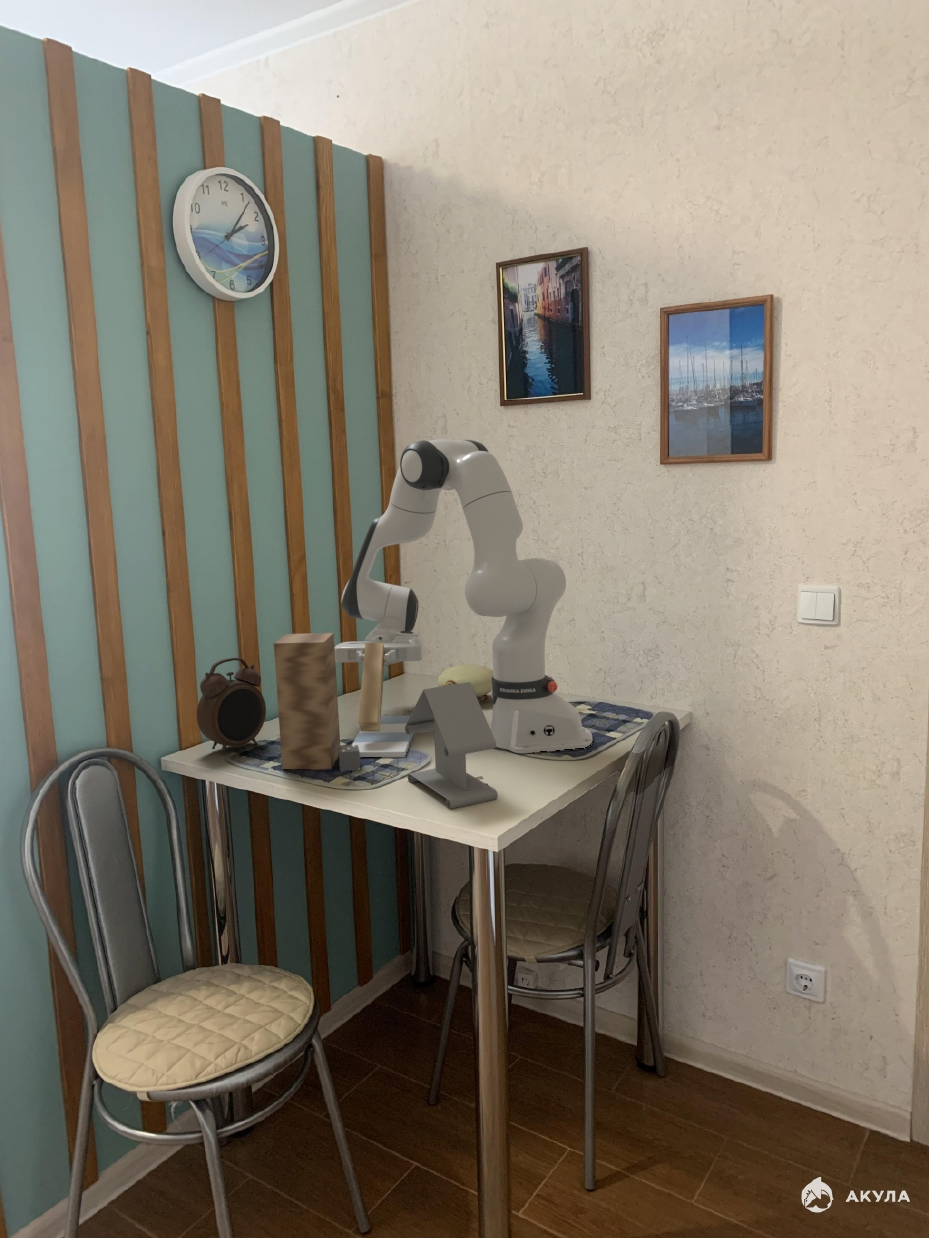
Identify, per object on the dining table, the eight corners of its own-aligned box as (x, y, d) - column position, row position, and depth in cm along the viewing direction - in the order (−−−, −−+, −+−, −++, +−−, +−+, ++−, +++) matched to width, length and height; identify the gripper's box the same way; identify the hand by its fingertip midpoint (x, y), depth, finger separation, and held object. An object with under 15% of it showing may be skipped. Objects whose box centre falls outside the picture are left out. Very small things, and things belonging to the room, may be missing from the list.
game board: (418, 720, 222) (418, 715, 222) (405, 757, 195) (404, 751, 195) (368, 720, 223) (368, 716, 223) (347, 758, 196) (347, 752, 195)
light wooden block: (385, 652, 213) (383, 642, 209) (379, 731, 201) (376, 722, 198) (367, 652, 213) (365, 643, 210) (361, 731, 201) (358, 722, 198)
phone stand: (497, 800, 169) (494, 691, 165) (450, 810, 164) (446, 699, 161) (451, 772, 185) (447, 672, 181) (407, 781, 180) (402, 679, 177)
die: (358, 763, 192) (357, 743, 191) (360, 769, 188) (359, 749, 187) (339, 765, 191) (338, 745, 191) (340, 771, 187) (339, 751, 187)
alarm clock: (216, 760, 197) (208, 667, 194) (197, 753, 202) (190, 662, 199) (273, 743, 208) (267, 654, 205) (254, 737, 213) (247, 651, 209)
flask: (510, 696, 241) (472, 716, 226) (458, 690, 250) (419, 709, 235) (508, 661, 239) (470, 679, 224) (456, 656, 248) (416, 673, 233)
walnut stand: (340, 753, 199) (333, 632, 194) (331, 769, 189) (323, 642, 185) (294, 754, 199) (285, 634, 195) (282, 769, 190) (273, 643, 185)
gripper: (338, 634, 222) (326, 645, 208) (424, 632, 221) (418, 643, 207) (340, 660, 223) (328, 673, 210) (425, 658, 222) (419, 671, 208)
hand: (373, 658), depth 208 cm, fingers closed on light wooden block, 4 cm apart
